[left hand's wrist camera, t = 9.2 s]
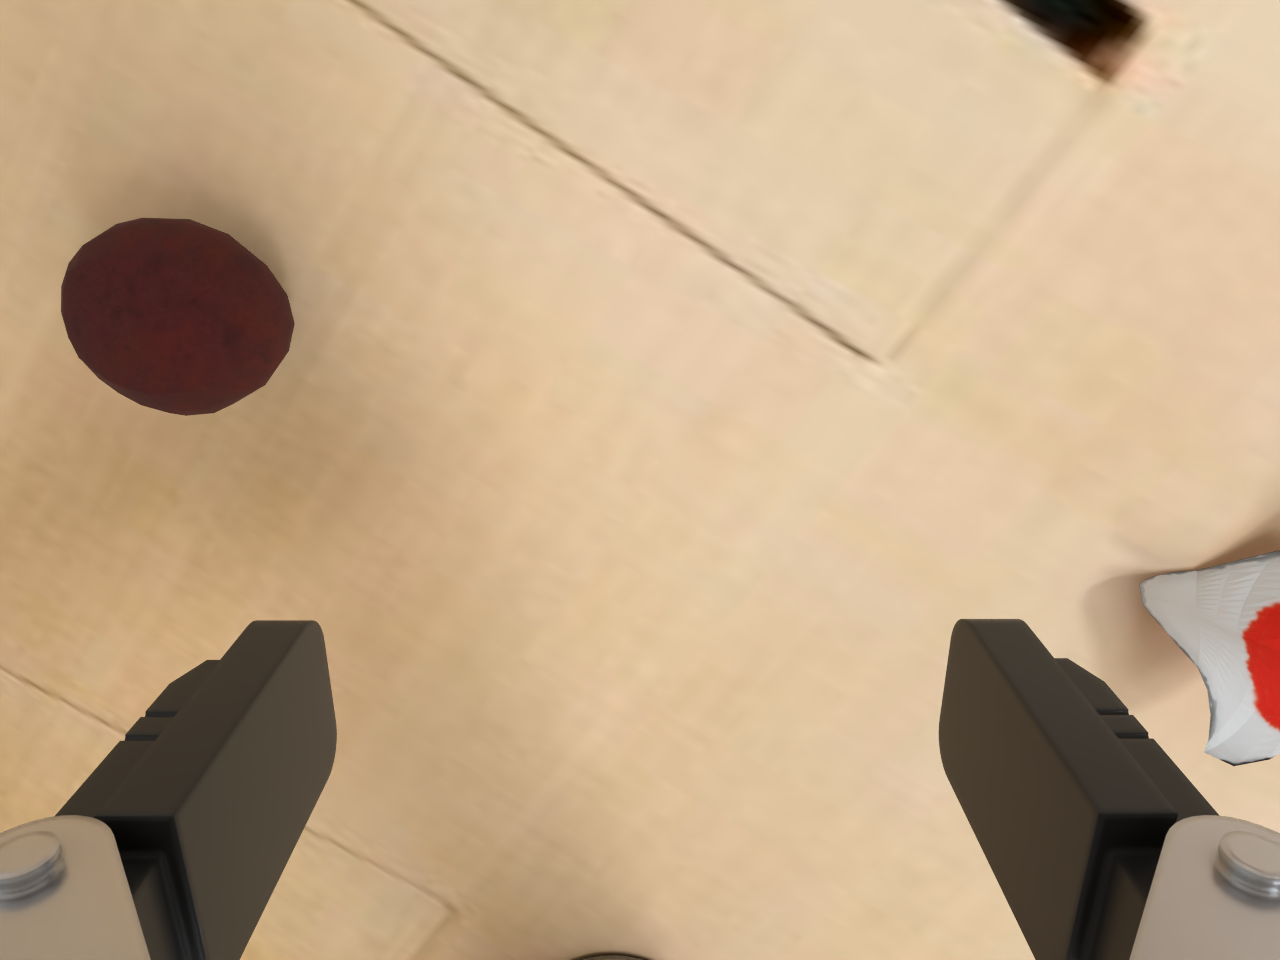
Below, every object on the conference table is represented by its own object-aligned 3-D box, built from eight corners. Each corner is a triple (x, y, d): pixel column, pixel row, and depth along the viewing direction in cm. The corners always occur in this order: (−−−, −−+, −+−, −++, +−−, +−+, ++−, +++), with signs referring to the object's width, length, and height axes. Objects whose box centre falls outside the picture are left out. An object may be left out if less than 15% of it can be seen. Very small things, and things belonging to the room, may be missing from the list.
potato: (120, 198, 36) (3, 213, 29) (317, 223, 36) (245, 243, 30) (134, 377, 38) (30, 428, 32) (318, 399, 39) (252, 453, 32)
